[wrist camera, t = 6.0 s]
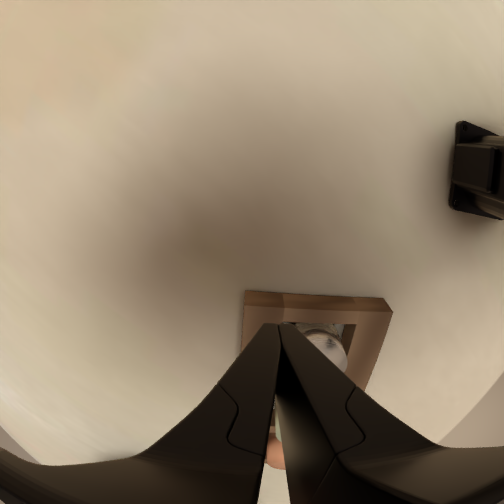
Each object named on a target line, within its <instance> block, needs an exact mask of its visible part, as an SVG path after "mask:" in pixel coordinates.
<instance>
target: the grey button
mask: <svg viewBox="0 0 504 504" xmlns="http://www.w3.org/2000/svg"><path fill="white" fill-rule="evenodd" d="M294 326H295V327H296V328H297V329H298V330H299V331H300V332H301V333H302V334H303V335H304V336H305V337H306V338H308V339H309V340H310V341H311V342H312V343H313V344H314V345H315V346H316V347H317V348H318V349H319V350H320V351H321V352H322V353H323V354H324V355H325V356H326V357H328V358H329V359H330V360H331V361H332V362H333V363H334V364H335V365H336V366H337V367H338V368H339V369H340V370H341V371H342V372H345V370H346V368H347V357H346V354H345V351H344V348H343V346H342V343H341V341H340V338H339V335H338V333H337V330H336V328H335V327H334V326H333V325H332V324H327V323H301V322H298V323H297V324H295V325H294Z"/></svg>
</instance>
